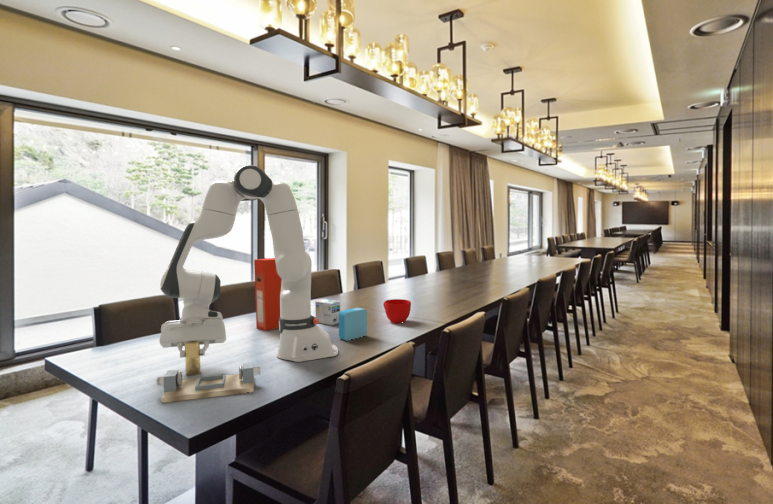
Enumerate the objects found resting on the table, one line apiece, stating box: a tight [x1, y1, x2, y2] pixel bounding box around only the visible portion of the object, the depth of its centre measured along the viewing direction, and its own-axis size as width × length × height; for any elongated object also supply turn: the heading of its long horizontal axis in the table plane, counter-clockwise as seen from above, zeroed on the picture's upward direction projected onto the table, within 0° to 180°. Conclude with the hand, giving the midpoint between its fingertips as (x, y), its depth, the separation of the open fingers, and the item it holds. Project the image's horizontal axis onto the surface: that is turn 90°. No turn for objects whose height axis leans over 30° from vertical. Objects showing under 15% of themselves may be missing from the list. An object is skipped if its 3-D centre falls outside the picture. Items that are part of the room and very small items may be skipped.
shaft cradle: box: [156, 362, 261, 404], centre depth 123 cm, size 28×12×6 cm, turn 107°
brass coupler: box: [184, 341, 202, 376], centre depth 136 cm, size 4×4×10 cm
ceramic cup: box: [383, 298, 412, 324], centre depth 205 cm, size 13×17×10 cm
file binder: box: [253, 257, 282, 332], centre depth 195 cm, size 8×17×32 cm, turn 139°
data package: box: [338, 307, 368, 342], centre depth 176 cm, size 12×4×12 cm, turn 133°
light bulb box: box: [314, 298, 341, 326], centre depth 202 cm, size 11×7×11 cm, turn 58°
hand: (192, 355), depth 135 cm, fingers closed on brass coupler, 4 cm apart
